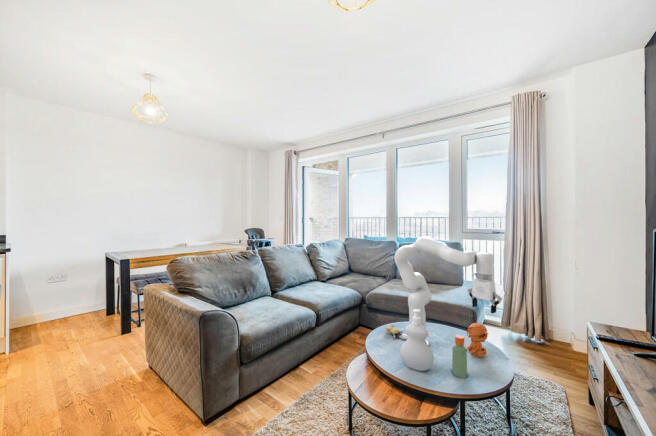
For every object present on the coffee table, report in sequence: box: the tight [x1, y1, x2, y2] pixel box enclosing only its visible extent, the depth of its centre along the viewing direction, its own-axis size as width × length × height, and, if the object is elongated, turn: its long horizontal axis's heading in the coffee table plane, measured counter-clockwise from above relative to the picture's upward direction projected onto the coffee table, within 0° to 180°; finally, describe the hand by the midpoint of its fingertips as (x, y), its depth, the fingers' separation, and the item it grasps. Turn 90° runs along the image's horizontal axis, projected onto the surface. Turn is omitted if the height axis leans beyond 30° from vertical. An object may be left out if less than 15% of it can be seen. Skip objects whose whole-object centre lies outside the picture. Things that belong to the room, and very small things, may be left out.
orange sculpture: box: [466, 321, 489, 358], centre depth 150 cm, size 11×11×18 cm
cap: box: [454, 334, 465, 346], centre depth 132 cm, size 4×4×4 cm
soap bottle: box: [399, 309, 435, 372], centre depth 138 cm, size 17×12×29 cm
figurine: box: [384, 324, 407, 341], centre depth 173 cm, size 10×6×15 cm
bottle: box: [451, 343, 468, 379], centre depth 132 cm, size 6×6×18 cm
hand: (483, 309), depth 138 cm, fingers open, 9 cm apart
